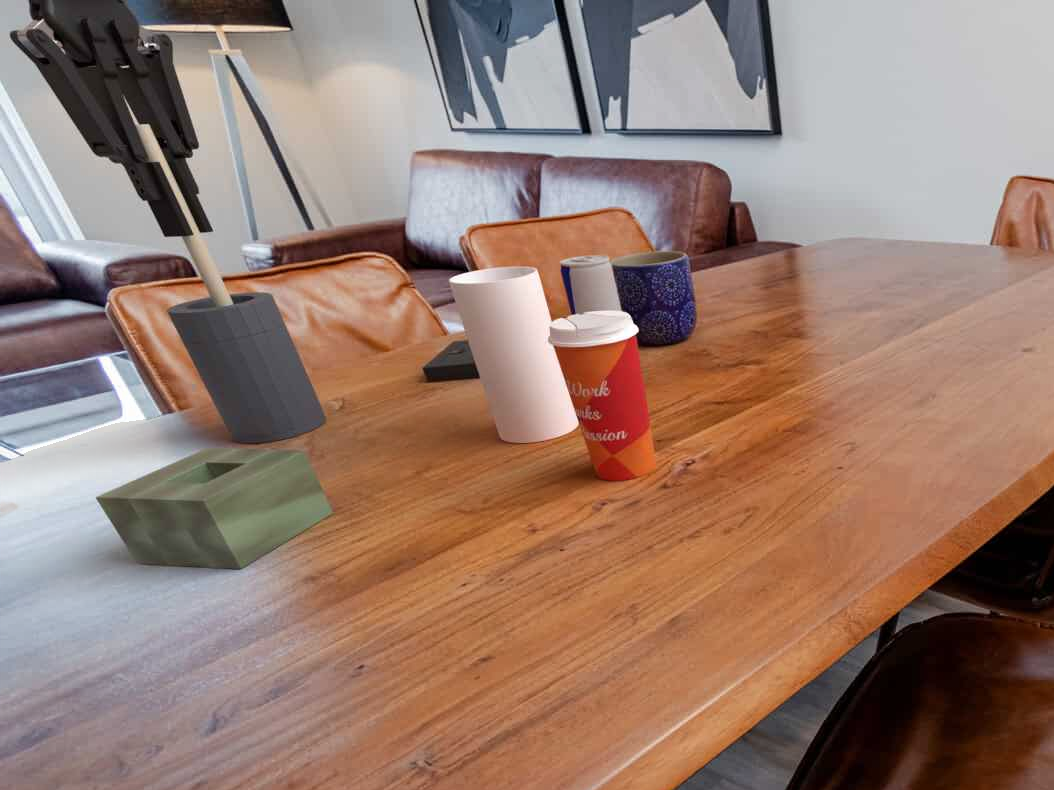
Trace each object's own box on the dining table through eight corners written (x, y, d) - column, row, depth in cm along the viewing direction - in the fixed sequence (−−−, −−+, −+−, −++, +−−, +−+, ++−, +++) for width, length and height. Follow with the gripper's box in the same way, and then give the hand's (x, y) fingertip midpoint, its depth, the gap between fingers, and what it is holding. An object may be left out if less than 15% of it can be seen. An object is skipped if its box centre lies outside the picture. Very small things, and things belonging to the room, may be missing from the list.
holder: (136, 564, 67) (94, 497, 64) (239, 509, 75) (206, 448, 72) (241, 569, 65) (203, 500, 62) (334, 513, 73) (304, 450, 70)
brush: (230, 369, 89) (110, 126, 77) (254, 361, 92) (141, 124, 79) (252, 370, 89) (135, 124, 76) (276, 362, 91) (165, 123, 79)
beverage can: (603, 381, 103) (572, 254, 95) (645, 381, 103) (617, 253, 95) (583, 395, 99) (548, 263, 91) (626, 395, 98) (596, 262, 90)
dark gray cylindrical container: (212, 443, 91) (143, 313, 83) (278, 414, 99) (220, 292, 91) (283, 444, 89) (220, 312, 82) (344, 415, 97) (292, 291, 90)
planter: (632, 333, 124) (615, 254, 118) (705, 327, 124) (691, 248, 118) (619, 353, 115) (599, 268, 109) (698, 346, 115) (683, 262, 109)
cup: (558, 410, 94) (517, 263, 86) (592, 427, 89) (551, 271, 81) (487, 431, 90) (436, 277, 81) (518, 449, 85) (466, 287, 76)
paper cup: (569, 472, 79) (527, 322, 71) (639, 447, 83) (606, 305, 76) (612, 493, 74) (572, 335, 67) (683, 465, 79) (653, 315, 71)
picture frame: (584, 343, 120) (457, 354, 118) (580, 327, 119) (452, 338, 117) (567, 369, 109) (427, 382, 107) (562, 352, 107) (420, 365, 106)
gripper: (-10, -80, 64) (153, 246, 76) (161, -56, 76) (278, 221, 88) (-86, -71, 65) (87, 248, 78) (95, -49, 77) (219, 224, 90)
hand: (189, 233), depth 83 cm, fingers closed on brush, 2 cm apart
